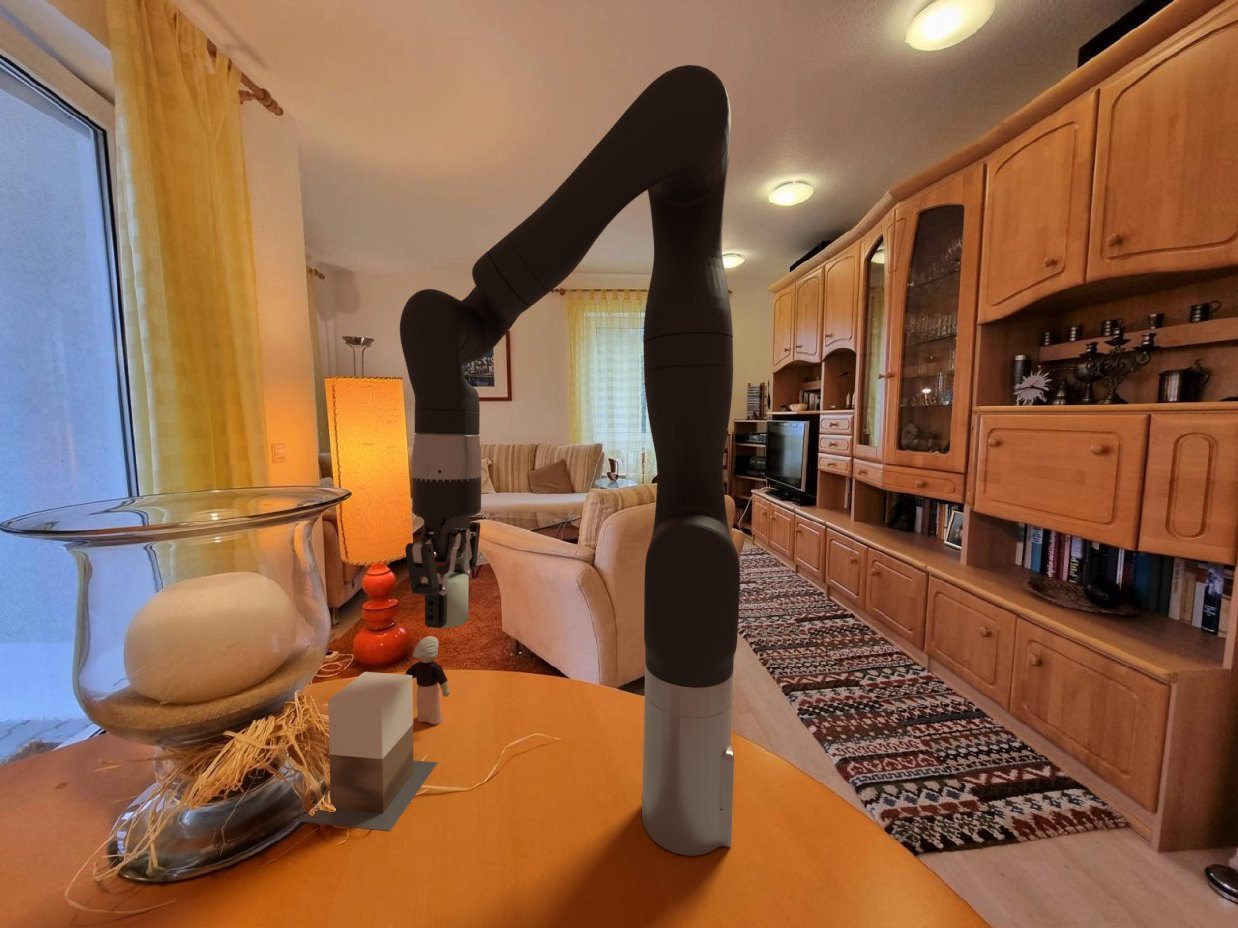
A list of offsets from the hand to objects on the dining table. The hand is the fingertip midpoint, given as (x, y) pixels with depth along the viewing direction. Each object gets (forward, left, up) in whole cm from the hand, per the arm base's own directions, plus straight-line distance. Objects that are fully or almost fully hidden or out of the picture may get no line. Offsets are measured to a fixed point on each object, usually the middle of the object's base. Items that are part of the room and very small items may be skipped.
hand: (447, 616), depth 55 cm
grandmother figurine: (+7, -9, -20) cm, 23 cm away
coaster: (+7, +4, -20) cm, 21 cm away
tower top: (+7, +4, -13) cm, 15 cm away
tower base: (+7, +4, -19) cm, 20 cm away
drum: (0, 0, 0) cm, 0 cm away
